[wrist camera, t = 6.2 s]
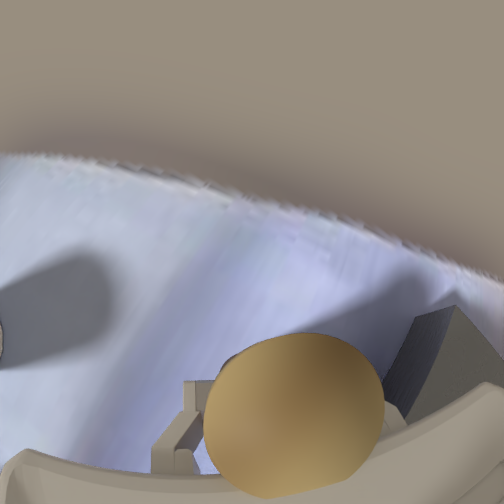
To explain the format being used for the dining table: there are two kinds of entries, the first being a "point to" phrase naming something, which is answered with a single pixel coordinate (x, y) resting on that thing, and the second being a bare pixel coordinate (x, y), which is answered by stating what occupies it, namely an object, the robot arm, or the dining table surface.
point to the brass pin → (293, 415)
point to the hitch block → (440, 364)
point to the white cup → (1, 340)
